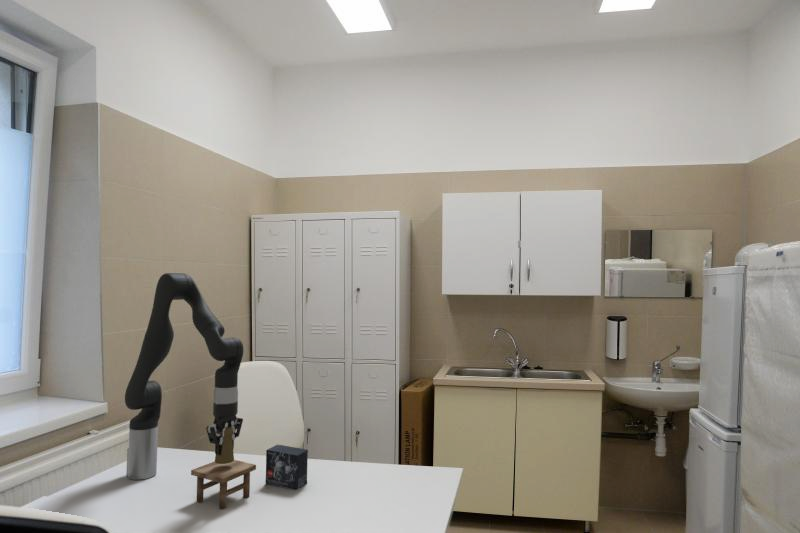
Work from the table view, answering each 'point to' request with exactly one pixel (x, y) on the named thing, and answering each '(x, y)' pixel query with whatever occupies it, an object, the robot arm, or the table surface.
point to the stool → (223, 478)
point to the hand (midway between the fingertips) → (224, 453)
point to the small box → (286, 467)
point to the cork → (226, 448)
